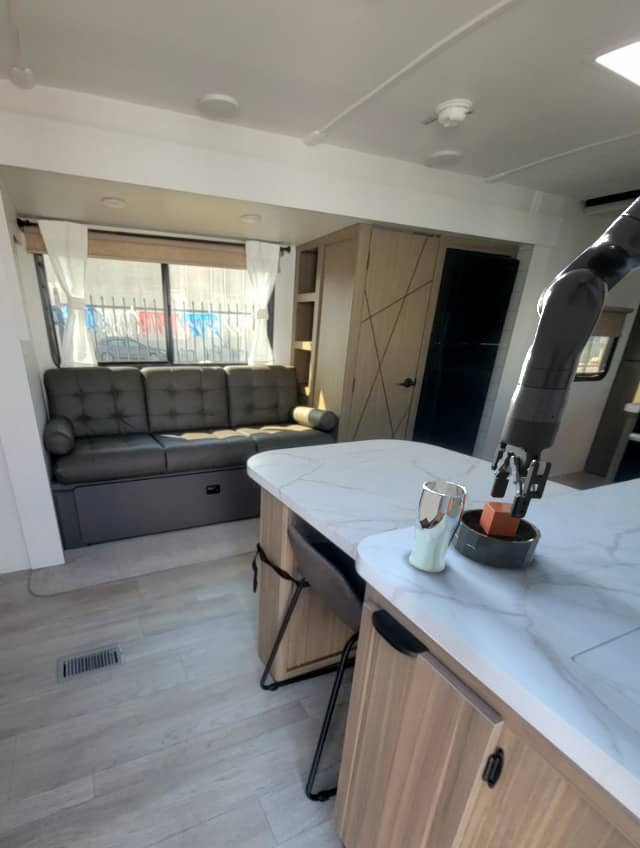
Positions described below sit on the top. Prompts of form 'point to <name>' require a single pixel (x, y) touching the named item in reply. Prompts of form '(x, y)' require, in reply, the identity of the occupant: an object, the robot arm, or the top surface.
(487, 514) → the terracotta block
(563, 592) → the top surface
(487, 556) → the shallow dark bowl
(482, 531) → the walnut block
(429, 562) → the beer glass
